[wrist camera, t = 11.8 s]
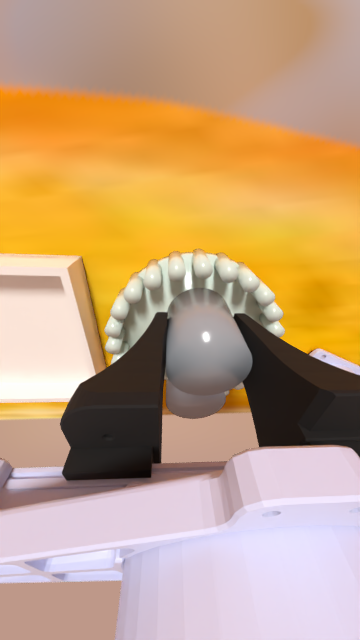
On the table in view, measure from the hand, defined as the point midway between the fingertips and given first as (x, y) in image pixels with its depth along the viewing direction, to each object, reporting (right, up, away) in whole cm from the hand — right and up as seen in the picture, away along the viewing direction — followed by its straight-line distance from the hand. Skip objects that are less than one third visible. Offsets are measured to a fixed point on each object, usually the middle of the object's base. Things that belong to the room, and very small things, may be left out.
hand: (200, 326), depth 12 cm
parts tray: (-14, 0, +4) cm, 14 cm away
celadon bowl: (0, 0, +4) cm, 4 cm away
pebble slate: (0, +1, +1) cm, 1 cm away
